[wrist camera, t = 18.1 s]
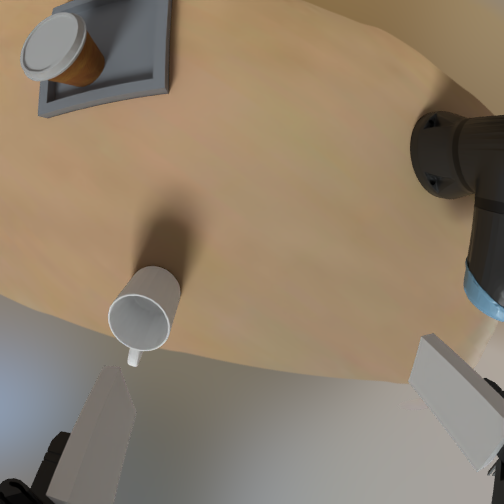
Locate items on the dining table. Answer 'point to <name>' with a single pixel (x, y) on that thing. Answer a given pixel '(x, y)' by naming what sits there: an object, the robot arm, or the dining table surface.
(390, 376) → the dining table surface
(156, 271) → the mug
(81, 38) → the disposable coffee cup
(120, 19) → the slate tray
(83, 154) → the dining table surface
